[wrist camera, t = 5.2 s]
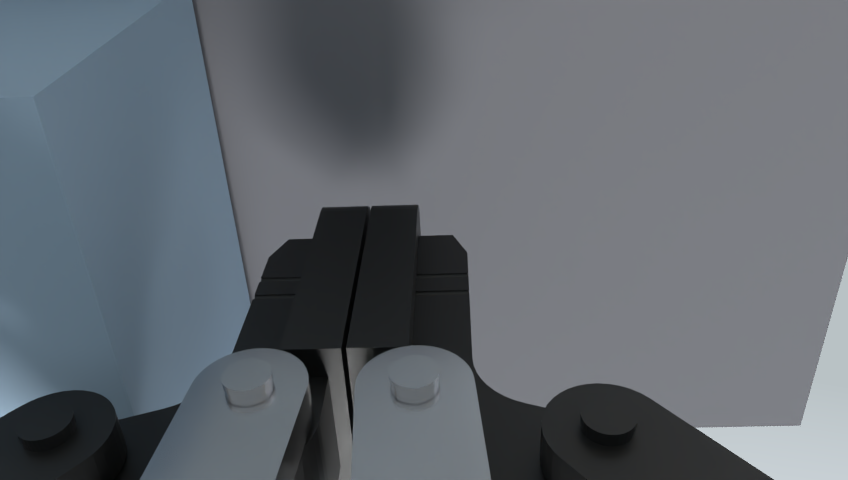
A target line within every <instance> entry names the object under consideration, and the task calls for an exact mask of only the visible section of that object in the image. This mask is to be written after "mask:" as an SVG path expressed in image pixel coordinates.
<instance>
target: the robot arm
mask: <svg viewBox="0 0 848 480" xmlns="http://www.w3.org/2000/svg"><path fill="white" fill-rule="evenodd" d="M0 480H774V479H772V478H770V477H769V476H767V475H766V474H764V473H763V472H761V471H760V470H758V469H756V468H755V467H754V466H752V465H751V464H749V463H748V462H746V461H745V460H743V459H742V458H740V457H738V456H737V455H735V454H734V453H732V452H731V451H729V450H728V449H726V448H725V447H723V446H722V445H720V444H719V443H717V442H716V441H714V440H712V439H711V438H710V437H708V436H707V435H705V434H704V433H702V432H700V431H699V430H697V429H696V428H694V427H693V426H691V425H690V424H688V423H687V422H685V421H684V420H682V419H681V418H679V417H678V416H676V415H675V414H673V413H672V412H670V411H669V410H667V409H665V408H664V407H662V406H661V405H659V404H658V403H656V402H655V401H653V400H652V399H650V398H648V397H647V396H645V395H643V394H641V393H639V392H637V391H634V390H632V389H629V388H626V387H622V386H618V385H612V384H602V383H594V384H584V385H578V386H575V387H572V388H569V389H567V390H565V391H563V392H561V393H559V394H558V395H556V396H555V397H554V398H553V399H552V400H551V401H550V402H549V403H548V404H547V406H546V408H545V407H540V406H536V405H532V404H527V403H523V402H520V401H516V400H513V399H510V398H508V397H506V396H503V395H502V394H500V393H498V392H496V391H494V390H493V389H492V388H490V387H489V386H488V385H487V384H486V383H485V382H484V381H483V380H482V379H481V378H480V376H479V375H478V374H477V372H476V370H475V367H474V365H473V359H472V339H471V318H470V297H469V277H468V256H467V251H466V250H465V249H464V248H463V247H462V245H461V244H460V243H459V242H458V241H457V239H456V238H455V237H454V236H453V235H431V236H421V229H420V212H419V205H383V206H372V207H371V209H370V207H369V206H351V207H323V208H322V209H321V212H320V215H319V218H318V222H317V225H316V228H315V232H314V235H313V238H312V239H289V240H288V241H286V242H285V243H284V244H283V245H282V246H281V247H280V248H279V249H278V250H276V251H275V252H274V253H273V254H272V255H271V256H270V257H269V258H268V261H267V263H266V266H265V269H264V271H263V274H262V276H261V282H259V284H258V287H257V289H256V292H255V299H253V300H252V303H251V305H250V308H249V310H248V313H247V316H246V318H245V321H244V323H243V326H242V329H241V331H240V334H239V337H238V339H237V342H236V344H235V347H234V350H233V352H232V354H229V355H226V356H224V357H222V358H220V359H218V360H216V361H215V362H213V363H211V364H210V365H208V366H207V367H206V368H205V369H203V370H202V371H201V372H200V373H199V374H198V375H197V377H196V378H195V379H194V381H193V382H192V384H191V386H190V388H189V390H188V391H187V393H186V395H185V397H184V399H183V401H182V402H181V403H179V404H177V405H174V406H171V407H167V408H164V409H160V410H156V411H152V412H148V413H144V414H140V415H136V416H131V417H127V418H123V419H119V420H118V417H117V414H116V411H115V408H114V406H113V405H112V403H111V402H110V401H109V400H108V399H107V398H106V397H104V396H102V395H101V394H98V393H95V392H91V391H85V390H70V391H62V392H57V393H52V394H49V395H45V396H42V397H39V398H37V399H34V400H32V401H30V402H28V403H26V404H24V405H22V406H20V407H18V408H16V409H14V410H13V411H11V412H9V413H7V414H6V415H4V416H2V417H0Z"/></svg>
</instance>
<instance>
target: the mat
mask: <svg viewBox="0 0 848 480" xmlns="http://www.w3.org/2000/svg"><path fill="white" fill-rule="evenodd" d="M192 3H193V8H194V13H195V18H196V24H197V29H198V34H199V39H200V44H201V50H202V55H203V60H204V65H205V70H206V75H207V81H208V86H209V91H210V96H211V101H212V107H213V112H214V117H215V122H216V127H217V133H218V138H219V143H220V148H221V153H222V159H223V164H224V169H225V174H226V179H227V185H228V190H229V195H230V200H231V205H232V210H233V216H234V221H235V226H236V231H237V236H238V242H239V247H240V252H241V257H242V262H243V268H244V273H245V278H246V283H247V288H248V294H249V299H250V304H251V303H252V300H253V299H255V292H256V289H257V287H258V284H259V282H261V276H262V274H263V271H264V269H265V266H266V263H267V261H268V258H269V257H270V256H271V255H272V254H273V253H274V252H275V251H276V250H278V249H279V248H280V247H281V246H282V245H283V244H284V243H285V242H286V241H288V240H289V239H312V238H313V235H314V232H315V228H316V225H317V222H318V218H319V215H320V212H321V209H322V208H323V207H351V206H369V207H370V209H371V207H372V206H383V205H419V212H420V229H421V236H431V235H453V236H454V237H455V238H456V239H457V241H458V242H459V243H460V244H461V245H462V247H463V248H464V249H465V250H466V251H467V256H468V277H469V297H470V318H471V339H472V359H473V365H474V367H475V370H476V372H477V374H478V375H479V376H480V378H481V379H482V380H483V381H484V382H485V383H486V384H487V385H488V386H489V387H490V388H492V389H493V390H494V391H496V392H498V393H500V394H502V395H503V396H506V397H508V398H510V399H513V400H516V401H520V402H523V403H527V404H532V405H536V406H540V407H545V408H546V406H547V404H548V403H549V402H550V401H551V400H552V399H553V398H554V397H555V396H556V395H558V394H559V393H561V392H563V391H565V390H567V389H569V388H572V387H575V386H578V385H584V384H594V383H602V384H612V385H618V386H622V387H626V388H629V389H632V390H634V391H637V392H639V393H641V394H643V395H645V396H647V397H648V398H650V399H652V400H653V401H655V402H656V403H658V404H659V405H661V406H662V407H664V408H665V409H667V410H669V411H670V412H672V413H673V414H675V415H676V416H678V417H679V418H681V419H682V420H684V421H685V422H687V423H688V424H690V425H691V426H693V427H742V426H793V425H801V421H802V418H803V414H804V410H805V407H806V403H807V400H808V396H809V393H810V389H811V385H812V381H813V378H814V375H815V371H816V368H817V364H818V361H819V357H820V353H821V349H822V346H823V343H824V339H825V336H826V332H827V328H828V325H829V321H830V318H831V314H832V311H833V307H834V303H835V300H836V296H837V292H838V289H839V285H840V282H841V279H842V275H843V271H844V267H845V264H846V261H847V257H848V0H192Z"/></svg>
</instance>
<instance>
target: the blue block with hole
mask: <svg viewBox="0 0 848 480" xmlns="http://www.w3.org/2000/svg"><path fill="white" fill-rule="evenodd" d="M250 305H251V304H250V299H249V294H248V288H247V283H246V278H245V273H244V268H243V262H242V257H241V252H240V247H239V242H238V236H237V231H236V226H235V221H234V216H233V210H232V205H231V200H230V195H229V190H228V185H227V179H226V174H225V169H224V164H223V159H222V153H221V148H220V143H219V138H218V133H217V127H216V122H215V117H214V112H213V107H212V101H211V96H210V91H209V86H208V81H207V75H206V70H205V65H204V60H203V55H202V50H201V44H200V39H199V34H198V29H197V24H196V18H195V13H194V8H193V3H192V0H0V417H2V416H4V415H6V414H7V413H9V412H11V411H13V410H14V409H16V408H18V407H20V406H22V405H24V404H26V403H28V402H30V401H32V400H34V399H37V398H39V397H42V396H45V395H49V394H52V393H57V392H62V391H70V390H85V391H91V392H95V393H98V394H101V395H102V396H104V397H106V398H107V399H108V400H109V401H110V402H111V403H112V405H113V406H114V408H115V411H116V414H117V417H118V420H119V419H123V418H127V417H131V416H136V415H140V414H144V413H148V412H152V411H156V410H160V409H164V408H167V407H171V406H174V405H177V404H179V403H181V402H182V401H183V399H184V397H185V395H186V393H187V391H188V390H189V388H190V386H191V384H192V382H193V381H194V379H195V378H196V377H197V375H198V374H199V373H200V372H201V371H202V370H203V369H205V368H206V367H207V366H208V365H210V364H211V363H213V362H215V361H216V360H218V359H220V358H222V357H224V356H226V355H229V354H232V352H233V350H234V347H235V344H236V342H237V339H238V337H239V334H240V331H241V329H242V326H243V323H244V321H245V318H246V316H247V313H248V310H249V308H250Z"/></svg>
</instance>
